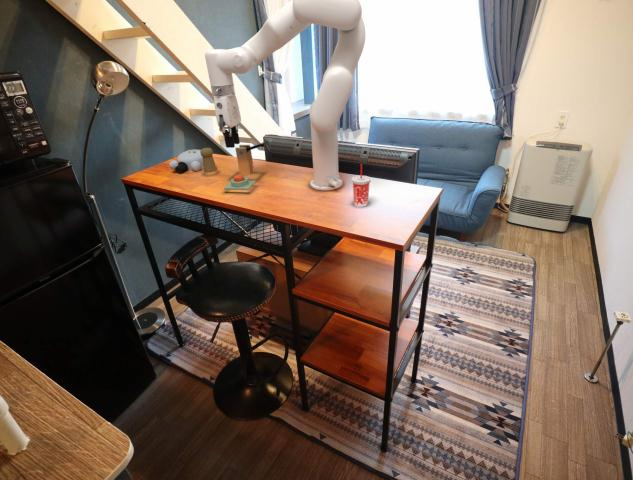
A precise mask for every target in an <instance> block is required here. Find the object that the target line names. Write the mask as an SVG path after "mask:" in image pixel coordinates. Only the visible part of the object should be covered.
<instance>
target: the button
mask: <svg viewBox="0 0 633 480" xmlns="http://www.w3.org/2000/svg"><path fill="white" fill-rule="evenodd" d="M244 177H245V175H240V174H236V175H234V176H233V178H234V180H235V182H240V181H244Z"/></svg>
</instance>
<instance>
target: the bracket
mask: <svg viewBox="0 0 633 480" xmlns="http://www.w3.org/2000/svg"><path fill="white" fill-rule="evenodd" d="M238 146H239V147H234V148H235V155H236V159H237V161H236V162H237V166H238V171H239V175H243V176H251V174H252V173H254V172H255V169H254V161H253V155H252V150H249V151H248V153H247V148H249V147H251V144H238ZM245 146H246V147H247V148H246V147H245Z"/></svg>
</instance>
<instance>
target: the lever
mask: <svg viewBox="0 0 633 480" xmlns="http://www.w3.org/2000/svg"><path fill="white" fill-rule="evenodd" d="M268 144H269V140H268V139H265V140H264V141H263V142H261V143H257V144H254V145H252V146H250V147H249V148H247V147H246V146H245V147H246V148H247V153H248V151H249V150H251V151H252V150H255V149H257V148H258V149H259V148H264V147H266V146H267V145H268Z"/></svg>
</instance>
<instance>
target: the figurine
mask: <svg viewBox="0 0 633 480" xmlns="http://www.w3.org/2000/svg"><path fill="white" fill-rule="evenodd" d="M200 151H201V149H188V150H185V151H183V152H181V153H180V154H179V155H178V156H177V158H176V159H173V160H171V161H170V162H169V163H168V164H169V168H170V169H171V170H172V171H175V173H176V174H179V175H180V174H182V173H183V172H187V171H193V172H199V171H201V170H202V169H204V166H203V157H202V156H201V154H200Z"/></svg>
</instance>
